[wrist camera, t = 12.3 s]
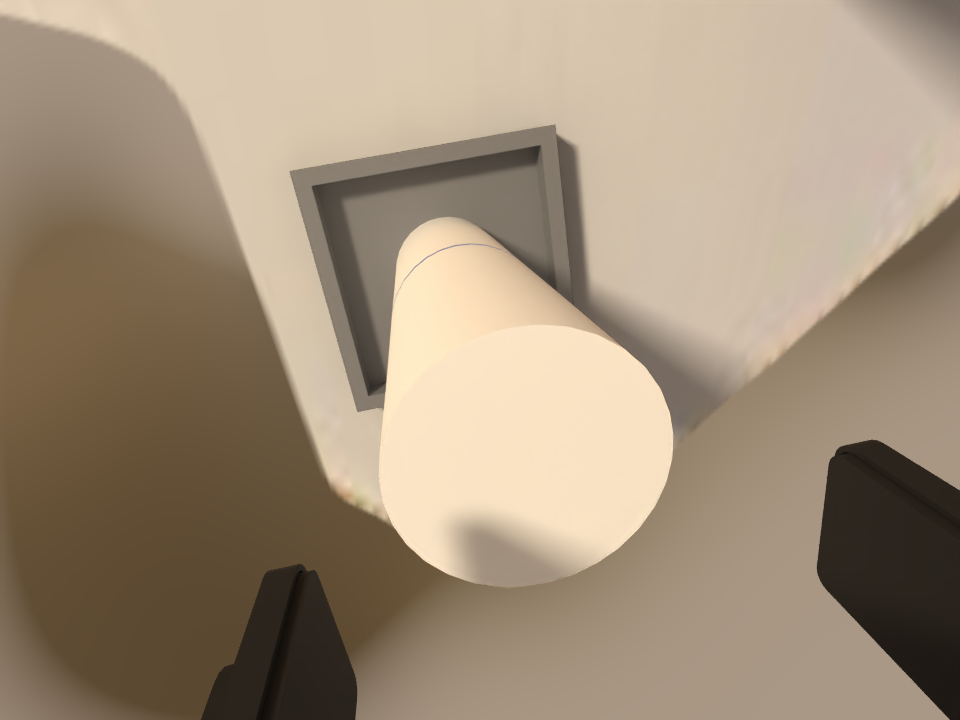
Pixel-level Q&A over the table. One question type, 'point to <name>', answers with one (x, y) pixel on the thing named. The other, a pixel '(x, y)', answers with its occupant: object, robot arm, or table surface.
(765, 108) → the table surface
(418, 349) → the cylindrical container
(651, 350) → the table surface
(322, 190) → the desk tray
